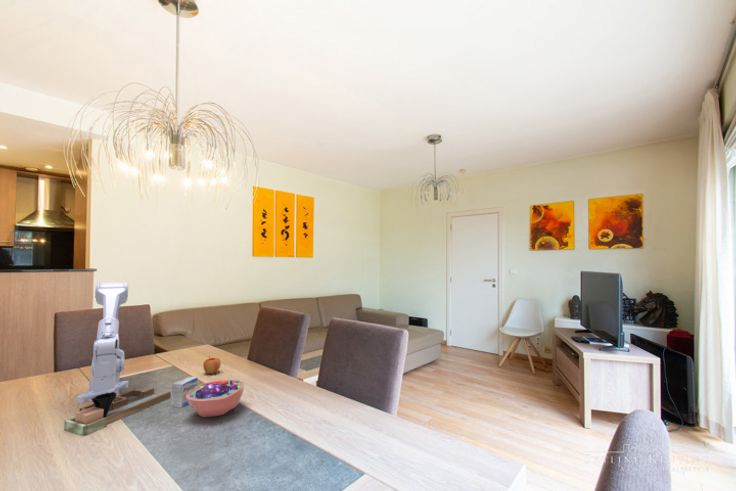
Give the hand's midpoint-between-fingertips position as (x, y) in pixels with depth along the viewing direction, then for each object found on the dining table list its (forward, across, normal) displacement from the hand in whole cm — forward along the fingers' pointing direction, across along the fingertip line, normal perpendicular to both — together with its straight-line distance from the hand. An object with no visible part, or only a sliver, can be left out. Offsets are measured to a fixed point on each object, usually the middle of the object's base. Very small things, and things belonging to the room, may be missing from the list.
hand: (102, 416), depth 109 cm
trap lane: (+1, +7, +3) cm, 7 cm away
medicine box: (+2, +20, -13) cm, 24 cm away
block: (+1, -4, 0) cm, 4 cm away
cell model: (+2, +19, -29) cm, 35 cm away
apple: (+2, +49, +3) cm, 49 cm away
